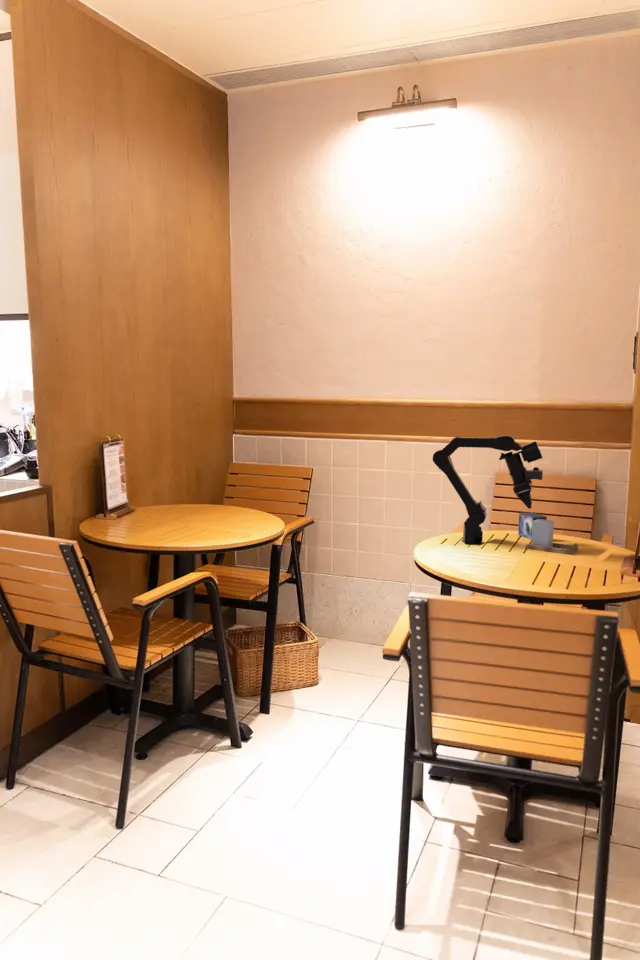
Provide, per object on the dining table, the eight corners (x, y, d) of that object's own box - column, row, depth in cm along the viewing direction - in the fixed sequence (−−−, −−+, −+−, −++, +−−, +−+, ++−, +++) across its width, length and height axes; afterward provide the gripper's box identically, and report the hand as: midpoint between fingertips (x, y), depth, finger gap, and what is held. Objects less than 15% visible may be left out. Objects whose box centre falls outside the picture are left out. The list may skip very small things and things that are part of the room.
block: (531, 548, 282) (532, 521, 281) (536, 545, 287) (537, 519, 286) (547, 550, 279) (549, 523, 277) (552, 547, 284) (554, 520, 282)
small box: (516, 538, 308) (518, 512, 307) (531, 537, 310) (532, 511, 309) (531, 543, 298) (533, 516, 297) (546, 543, 300) (547, 516, 299)
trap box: (525, 552, 281) (525, 541, 281) (534, 548, 290) (534, 537, 289) (569, 558, 272) (570, 547, 272) (577, 553, 281) (578, 543, 281)
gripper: (536, 462, 278) (551, 503, 278) (537, 458, 296) (551, 496, 296) (506, 472, 282) (521, 512, 282) (509, 467, 300) (523, 505, 300)
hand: (530, 506), depth 290 cm, fingers open, 9 cm apart
